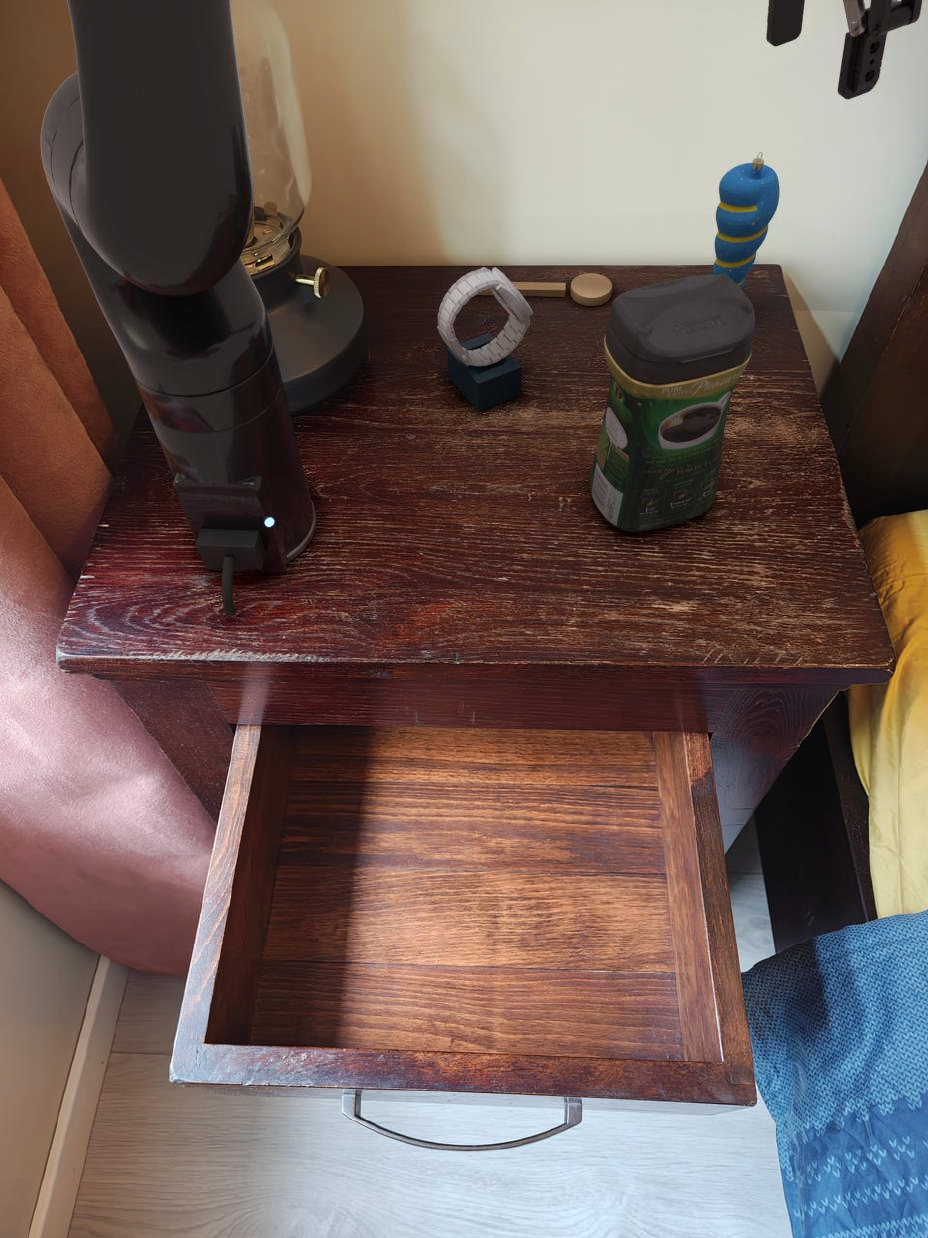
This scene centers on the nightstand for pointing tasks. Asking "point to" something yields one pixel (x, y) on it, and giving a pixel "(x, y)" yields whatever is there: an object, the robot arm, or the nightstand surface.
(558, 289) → the spoon
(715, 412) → the coffee jar
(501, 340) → the watch
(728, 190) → the ornament
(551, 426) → the nightstand surface
